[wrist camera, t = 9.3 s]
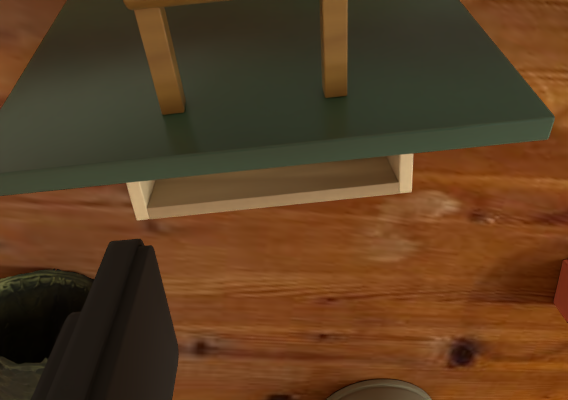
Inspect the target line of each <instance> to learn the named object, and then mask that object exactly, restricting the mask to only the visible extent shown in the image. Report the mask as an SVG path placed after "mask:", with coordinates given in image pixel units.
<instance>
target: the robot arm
mask: <svg viewBox="0 0 568 400" xmlns="http://www.w3.org/2000/svg"><path fill="white" fill-rule="evenodd" d="M177 366H178V344H177V339H176V335H175V331H174V327H173V323H172V319H171V315H170V311H169V307H168V303H167V299H166V295H165V291H164V287H163V283H162V279H161V275H160V271H159V267H158V263H157V259H156V255H155V251H154V248H153V246H151V245H149V246H144V244H143V242H142V240H141V239H132V240H120V241H112V242H110V243H109V245H108V247H107V249H106V252H105V254H104V257H103V259H102V262H101V264H100V267H99V269H98V272H97V274H96V277H95V279H94V281H93V284H92V286H91V289H90V291H89V294H88V296H87V299H86V301H85V304H84V306H83V309H82V311H81V312H72V313H71V314H70V315H68V317H67V318H66V320H65V322H64V324H63V326H62V329H61V331H60V333H59V335H58V338H57V340H56V342H55V345H54V347H53V349H52V352H51V354H50V356H49V359H48V361H47V363H46V365H45V368H44V370H43V372H42V375H41V377H40V379H39V382H38V384H37V386H36V388H35V391H34V393H33V395H32V398H31V400H172V396H173V390H174V384H175V378H176V372H177Z"/></svg>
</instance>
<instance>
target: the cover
mask: <svg viewBox="0 0 568 400" xmlns="http://www.w3.org/2000/svg"><path fill="white" fill-rule="evenodd" d="M554 120H555V117H554V115H553V114H552V113H551V111H550V110H549V109H548V108H547V107H546V105H545V104H544V103H543V102H542V101H541V99H540V98H539V97H538V96H537V94H536V93H535V92H534V91H533V90H532V88H531V87H530V86H529V85H528V83H527V82H526V81H525V80H524V79H523V77H522V76H521V75H520V74H519V72H518V71H517V70H516V69H515V68H514V66H513V65H512V64H511V63H510V62H509V60H508V59H507V58H506V57H505V55H504V54H503V53H502V52H501V51H500V49H499V48H498V47H497V46H496V44H495V43H494V42H493V41H492V40H491V38H490V37H489V36H488V35H487V34H486V32H485V31H484V30H483V29H482V27H481V26H480V25H479V24H478V23H477V21H476V20H475V19H474V18H473V16H472V15H471V14H470V13H469V12H468V10H467V9H466V8H465V7H464V5H463V4H462V3H461V2H460V1H459V0H67V1H66V3H65V4H64V6H63V8H62V9H61V11H60V13H59V14H58V16H57V17H56V19H55V21H54V22H53V24H52V26H51V27H50V29H49V31H48V32H47V34H46V35H45V37H44V39H43V40H42V42H41V44H40V45H39V47H38V49H37V50H36V52H35V54H34V55H33V57H32V58H31V60H30V62H29V63H28V65H27V67H26V68H25V70H24V72H23V73H22V75H21V76H20V78H19V80H18V81H17V83H16V85H15V86H14V88H13V90H12V91H11V93H10V95H9V96H8V98H7V99H6V101H5V103H4V104H3V106H2V108H1V109H0V196H4V195H14V194H24V193H33V192H43V191H53V190H63V189H72V188H82V187H92V186H101V185H111V184H121V183H131V182H140V181H150V180H160V179H169V178H179V177H189V176H199V175H208V174H218V173H228V172H238V171H247V170H257V169H267V168H276V167H286V166H296V165H306V164H315V163H325V162H335V161H344V160H354V159H364V158H374V157H383V156H393V155H403V154H413V153H422V152H432V151H442V150H451V149H461V148H471V147H481V146H490V145H500V144H510V143H519V142H529V141H539V140H547V139H548V138H549V136H550V132H551V129H552V126H553V123H554Z"/></svg>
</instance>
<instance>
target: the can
mask: <svg viewBox="0 0 568 400" xmlns="http://www.w3.org/2000/svg"><path fill="white" fill-rule="evenodd" d="M326 400H432V399H431V398H430V397H429V395H428V394H427V393H426V392H425V391H423V390H422V389H421V388H419V387H417V386H415V385H413V384H410V383H408V382H404V381H399V380H393V379H375V380H368V381H363V382H359V383H355V384H352V385H350V386H347V387H345V388H343V389H341V390H339V391H337V392H336V393H334V394H333V395H331V396H330V397H329V398H327V399H326Z"/></svg>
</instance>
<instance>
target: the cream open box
mask: <svg viewBox="0 0 568 400" xmlns="http://www.w3.org/2000/svg"><path fill="white" fill-rule="evenodd" d="M412 173H413V154H403V155H393V156H383V157H374V158H364V159H354V160H344V161H335V162H325V163H315V164H306V165H296V166H286V167H276V168H267V169H257V170H247V171H238V172H228V173H218V174H208V175H199V176H189V177H179V178H169V179H160V180H150V181H140V182H131V183H126V184H127V188H128V192H129V195H130V199H131V202H132V206H133V210H134V213H135V217H136V220H145V219H157V218H167V217H177V216H186V215H196V214H206V213H216V212H225V211H235V210H245V209H254V208H264V207H274V206H283V205H293V204H303V203H313V202H322V201H332V200H342V199H351V198H361V197H371V196H381V195H390V194H398V193H407V192H411V191H412Z"/></svg>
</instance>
